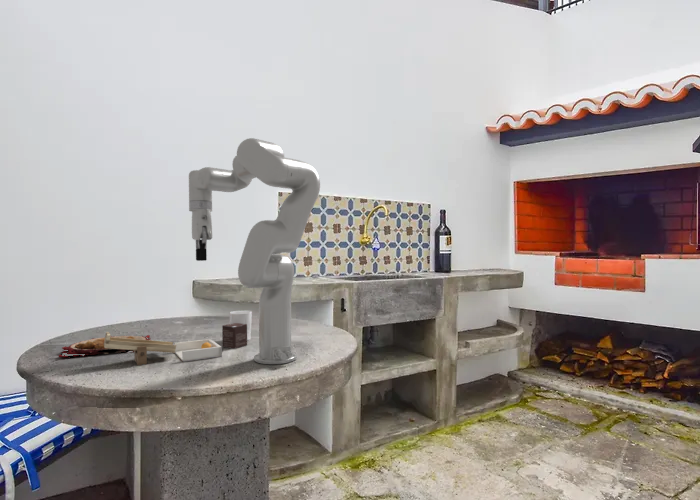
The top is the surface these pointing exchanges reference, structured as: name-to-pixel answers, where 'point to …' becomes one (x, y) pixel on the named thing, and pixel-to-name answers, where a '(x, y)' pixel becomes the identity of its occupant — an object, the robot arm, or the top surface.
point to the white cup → (242, 320)
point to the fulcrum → (140, 355)
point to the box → (234, 335)
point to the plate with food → (94, 346)
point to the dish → (197, 350)
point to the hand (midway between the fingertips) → (201, 260)
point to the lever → (138, 344)
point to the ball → (206, 345)
